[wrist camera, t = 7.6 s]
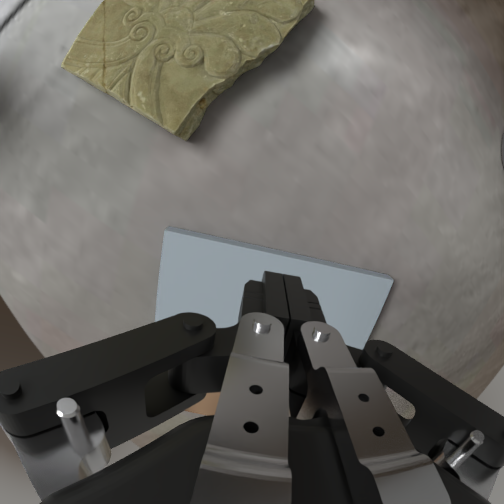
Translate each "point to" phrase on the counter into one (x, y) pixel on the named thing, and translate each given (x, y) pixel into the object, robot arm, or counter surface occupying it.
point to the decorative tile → (178, 52)
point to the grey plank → (252, 268)
